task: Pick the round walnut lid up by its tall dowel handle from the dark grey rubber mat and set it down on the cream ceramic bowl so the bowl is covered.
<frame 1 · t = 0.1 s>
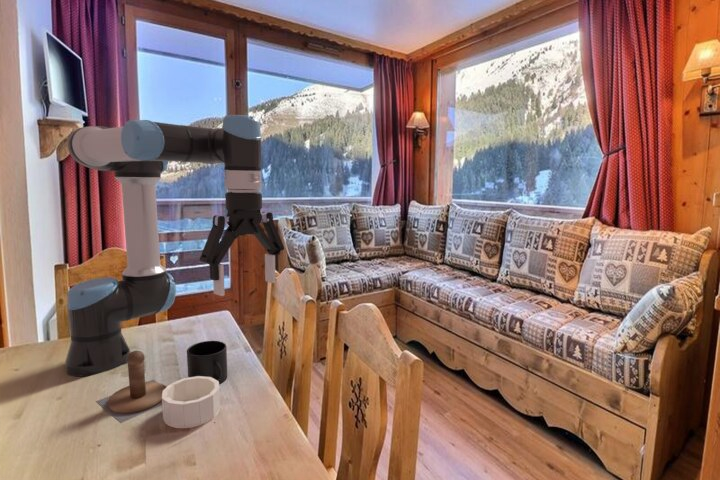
hand: (246, 288, 89), 28 cm above the table, fingers open, 13 cm apart
lid: (138, 399, 93), point 1 cm above the table, touching mat
mat: (138, 401, 93), on the table
bowl: (192, 414, 89), on the table
mug: (210, 383, 102), on the table
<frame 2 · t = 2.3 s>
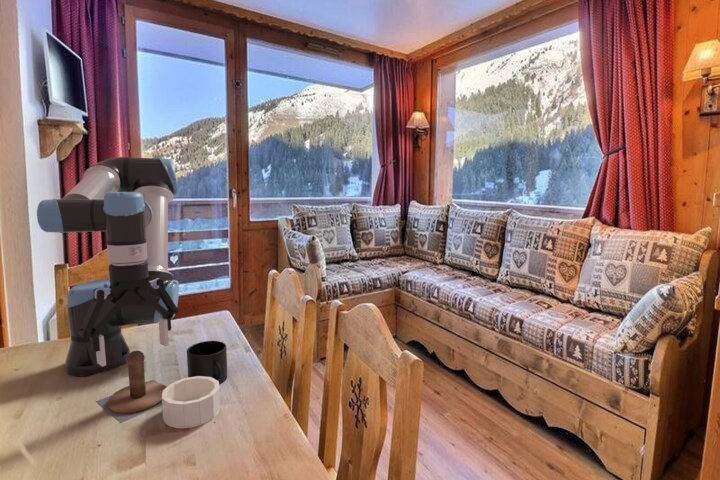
hand: (134, 354, 91), 12 cm above the table, fingers open, 13 cm apart
nothing on the table moved.
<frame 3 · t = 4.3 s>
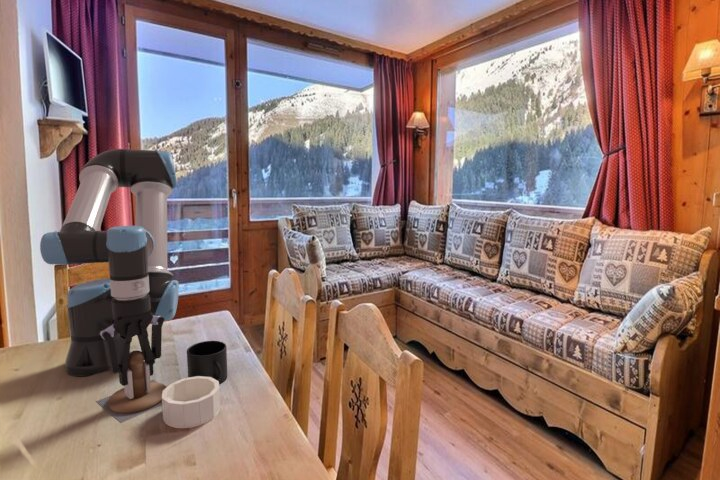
hand: (138, 392, 93), 2 cm above the table, fingers closed on lid, 3 cm apart
lid: (138, 398, 93), point 1 cm above the table, touching gripper
everything else where it was.
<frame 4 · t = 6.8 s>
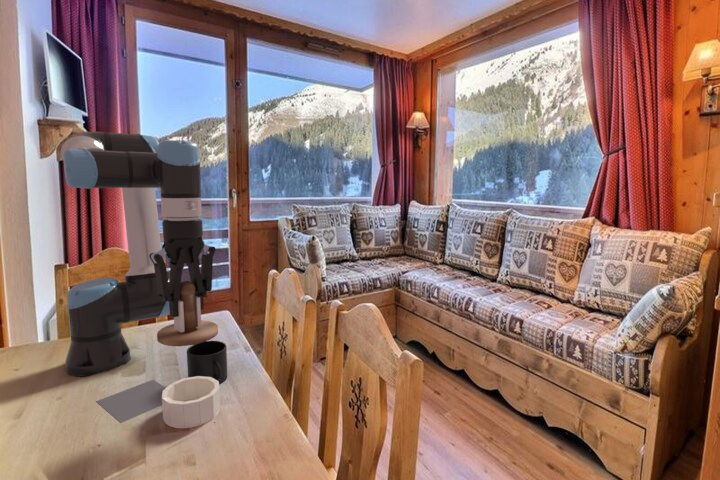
hand: (188, 327, 85), 20 cm above the table, fingers closed on lid, 3 cm apart
lid: (188, 334, 86), point 19 cm above the table, touching gripper
everything else where it was.
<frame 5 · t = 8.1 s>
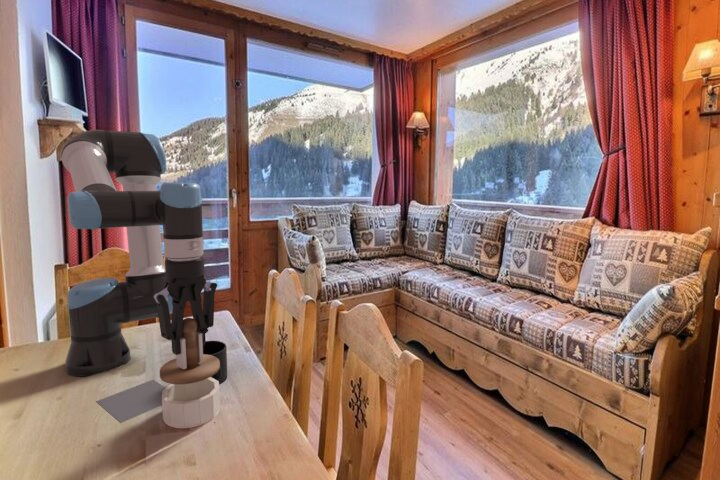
hand: (190, 363, 87), 12 cm above the table, fingers closed on lid, 3 cm apart
lid: (190, 370, 87), point 10 cm above the table, touching gripper
everything else where it was.
when the fingers open (9 cm above the table, at t = 9.3 s): lid drops 1 cm, resting on bowl.
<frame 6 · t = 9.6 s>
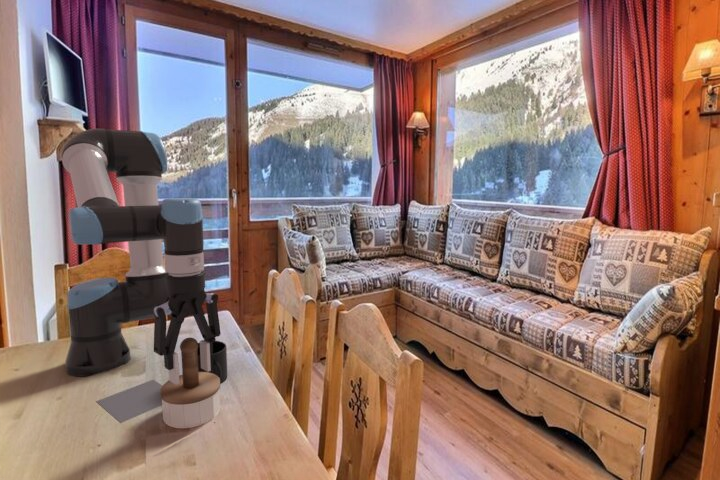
hand: (190, 375, 87), 9 cm above the table, fingers open, 7 cm apart
lid: (191, 389, 88), point 6 cm above the table, touching bowl
everything else where it was.
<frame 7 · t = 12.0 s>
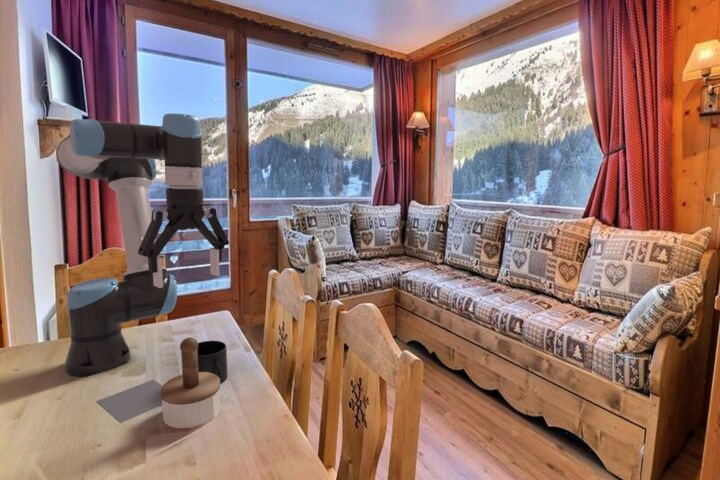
hand: (188, 280, 92), 28 cm above the table, fingers open, 13 cm apart
nothing on the table moved.
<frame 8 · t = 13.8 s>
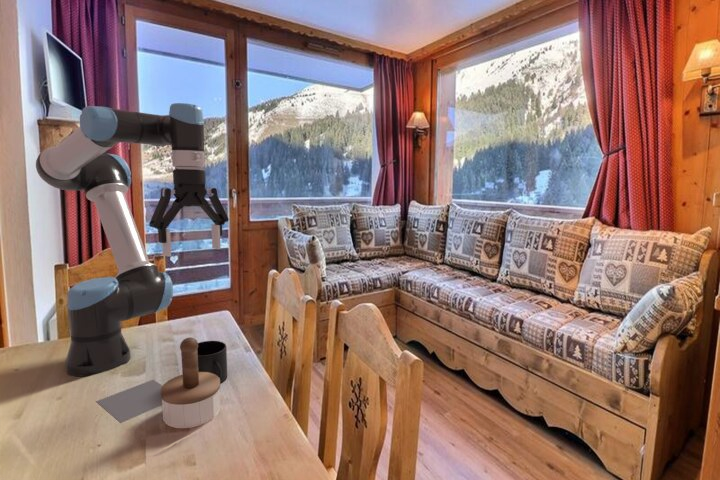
hand: (193, 252, 104), 33 cm above the table, fingers open, 13 cm apart
nothing on the table moved.
at the end: lid 0.0 cm off-centre on the bowl, point 6.0 cm above the bowl's base; lid tilted 0°; the gripper is holding nothing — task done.
